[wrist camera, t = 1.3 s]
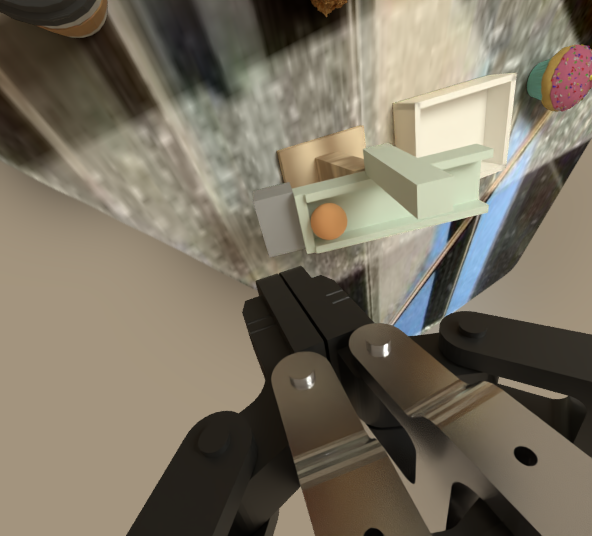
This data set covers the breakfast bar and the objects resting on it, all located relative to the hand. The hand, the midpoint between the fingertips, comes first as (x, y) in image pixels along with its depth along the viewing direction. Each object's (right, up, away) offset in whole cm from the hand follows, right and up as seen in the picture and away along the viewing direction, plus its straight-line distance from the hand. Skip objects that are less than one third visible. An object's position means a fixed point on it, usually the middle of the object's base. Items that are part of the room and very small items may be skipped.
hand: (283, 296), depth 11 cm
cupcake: (+38, +30, +41) cm, 64 cm away
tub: (+22, +21, +39) cm, 49 cm away
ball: (+4, +6, +22) cm, 23 cm away
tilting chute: (+7, +10, +26) cm, 29 cm away
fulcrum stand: (+4, +14, +35) cm, 38 cm away
